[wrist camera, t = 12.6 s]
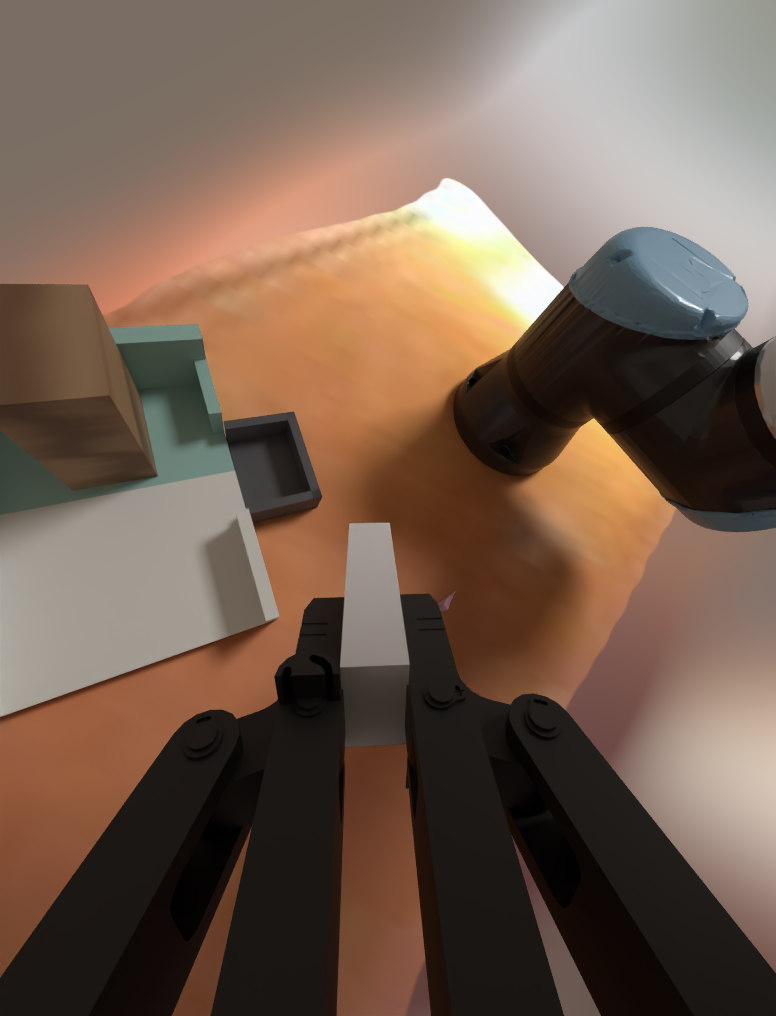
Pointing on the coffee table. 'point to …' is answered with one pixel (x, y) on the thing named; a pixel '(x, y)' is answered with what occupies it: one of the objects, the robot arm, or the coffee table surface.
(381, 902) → the coffee table surface
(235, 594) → the teal and white tray
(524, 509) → the coffee table surface
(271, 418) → the tray
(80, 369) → the walnut block
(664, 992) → the robot arm
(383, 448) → the coffee table surface
